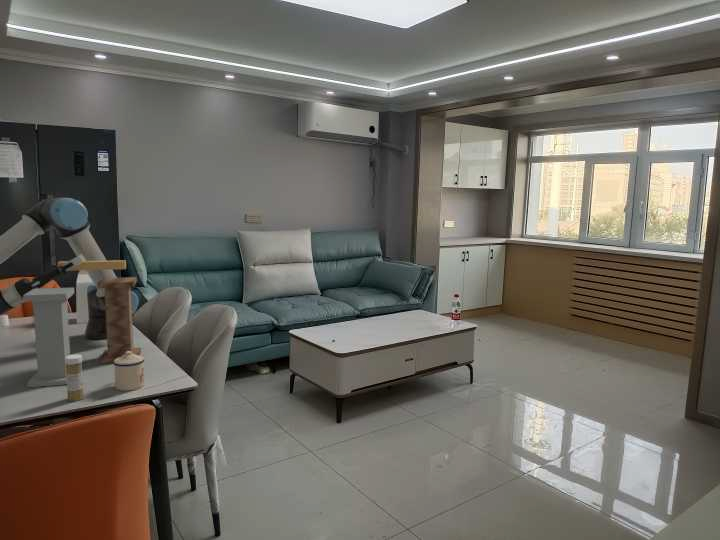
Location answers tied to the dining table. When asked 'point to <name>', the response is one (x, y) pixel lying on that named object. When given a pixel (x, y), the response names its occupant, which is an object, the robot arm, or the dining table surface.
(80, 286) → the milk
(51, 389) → the dining table surface
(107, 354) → the walnut stand
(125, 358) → the teacup with lid
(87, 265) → the ochre bar
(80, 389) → the sprinkles bottle
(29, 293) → the grey stand
